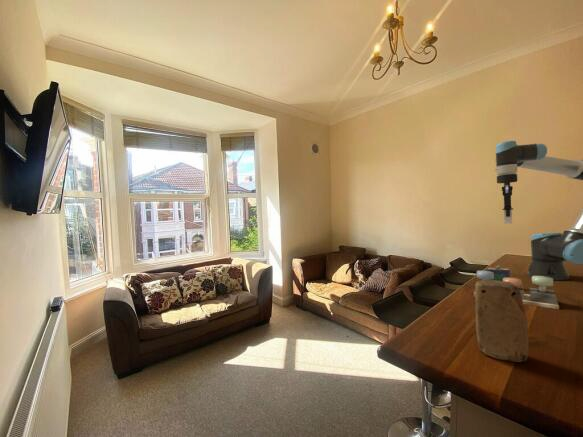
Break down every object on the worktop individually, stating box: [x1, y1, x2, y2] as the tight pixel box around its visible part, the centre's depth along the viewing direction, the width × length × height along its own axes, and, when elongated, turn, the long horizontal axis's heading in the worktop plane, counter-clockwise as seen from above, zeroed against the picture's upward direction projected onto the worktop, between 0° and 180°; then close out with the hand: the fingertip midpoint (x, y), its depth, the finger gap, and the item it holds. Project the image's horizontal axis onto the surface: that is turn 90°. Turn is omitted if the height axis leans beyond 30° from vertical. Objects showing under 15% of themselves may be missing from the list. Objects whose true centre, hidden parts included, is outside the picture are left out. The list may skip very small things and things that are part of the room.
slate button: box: [476, 270, 494, 280], centre depth 112 cm, size 6×6×6 cm
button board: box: [473, 281, 560, 310], centre depth 106 cm, size 26×10×5 cm, turn 48°
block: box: [474, 279, 529, 363], centre depth 68 cm, size 11×8×20 cm
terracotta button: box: [503, 277, 523, 288], centre depth 106 cm, size 6×6×6 cm
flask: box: [485, 265, 511, 282], centre depth 120 cm, size 9×3×11 cm, turn 68°
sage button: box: [531, 276, 554, 293], centre depth 99 cm, size 6×6×6 cm
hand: (508, 223), depth 121 cm, fingers closed
